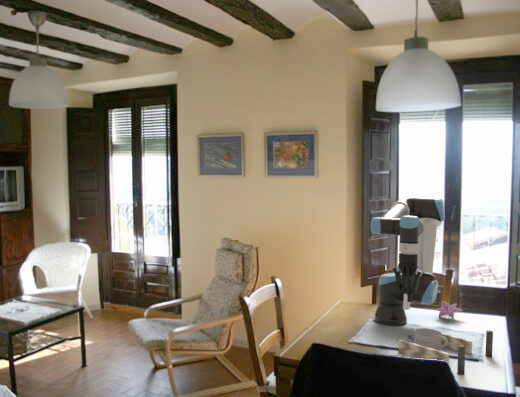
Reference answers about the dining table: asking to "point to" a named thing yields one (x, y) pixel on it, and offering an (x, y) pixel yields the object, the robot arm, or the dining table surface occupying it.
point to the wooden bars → (453, 343)
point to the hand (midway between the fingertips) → (406, 309)
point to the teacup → (429, 338)
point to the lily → (448, 309)
